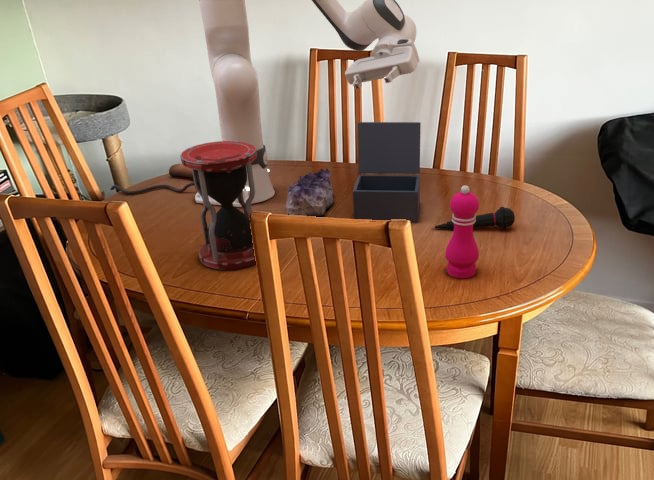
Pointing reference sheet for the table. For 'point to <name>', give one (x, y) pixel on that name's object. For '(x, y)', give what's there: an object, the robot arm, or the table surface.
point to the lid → (389, 147)
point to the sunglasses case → (180, 171)
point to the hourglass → (224, 201)
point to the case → (387, 197)
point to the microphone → (488, 220)
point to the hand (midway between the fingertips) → (371, 83)
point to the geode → (310, 194)
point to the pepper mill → (463, 235)
